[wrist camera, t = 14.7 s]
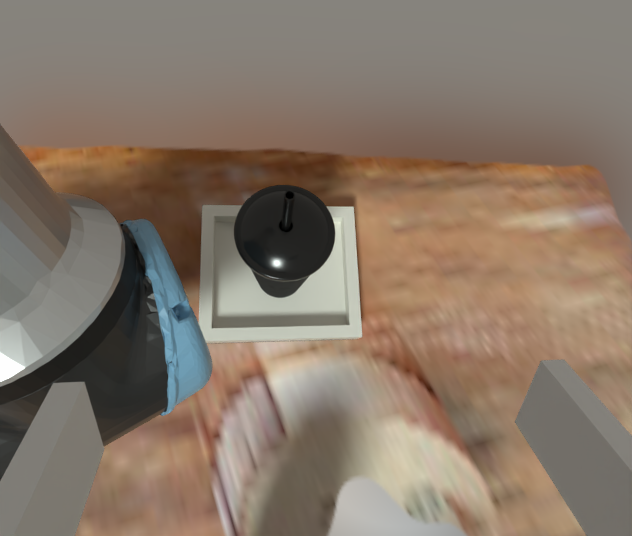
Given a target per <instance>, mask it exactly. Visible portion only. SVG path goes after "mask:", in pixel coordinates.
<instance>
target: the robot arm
mask: <svg viewBox="0 0 632 536" xmlns="http://www.w3.org/2000/svg"><path fill="white" fill-rule="evenodd" d="M211 373H212V359H211V356H210V352H209V349H208V347H207V344H206V341H205V339H204V336H203V333H202V331H201V328H200V326H199V324H198V321H197V319H196V317H195V314H194V312H193V310H192V308H191V307H190V305H189V301H188V298H187V296H186V294H185V292H184V289H183V286H182V283H181V281H180V279H179V276H178V274H177V272H176V270H175V267H174V265H173V263H172V261H171V259H170V257H169V254H168V252H167V250H166V248H165V246H164V244H163V242H162V240H161V238H160V236H159V234H158V232H157V230H156V229H155V227H154V225H153V224H152V223H151V222H150V221H148V220H146V219H137V220H134V221H131V220H126V221H124V222H123V223H120V224H119V223H118V222H117V220H116V219H115V218H114V216H113V215H112V214H111V213H110V212H109V211H108V210H107V209H106V208H105V207H104V206H103V205H101V204H100V203H98V202H96V201H94V200H93V199H90V198H87V197H84V196H80V195H76V194H70V193H56V192H54V191H53V189H52V188H51V187H50V186H49V184H48V183H47V182H46V181H45V179H44V178H43V177H42V176H41V174H40V173H39V172H38V171H37V169H36V168H35V167H34V166H33V164H32V163H31V162H30V161H29V159H28V158H27V157H26V156H25V154H24V153H23V152H22V151H21V149H20V148H19V147H18V146H17V144H16V143H15V142H14V141H13V139H12V138H11V137H10V136H9V134H8V133H7V132H6V131H5V129H4V128H3V127H2V126H1V124H0V536H75V533H76V530H77V527H78V524H79V522H80V519H81V516H82V513H83V510H84V507H85V504H86V501H87V498H88V495H89V492H90V489H91V487H92V484H93V481H94V478H95V475H96V472H97V469H98V466H99V463H100V460H101V457H102V454H103V452H104V446H106V445H108V444H109V443H111V442H113V441H115V440H116V439H118V438H120V437H121V436H123V435H125V434H127V433H128V432H130V431H132V430H134V429H135V428H137V427H139V426H141V425H142V424H144V423H146V422H148V421H149V420H151V419H153V418H155V417H156V416H158V415H162V416H163V415H166V414H168V413H170V412H171V411H172V410H173V409H174V407H175V406H176V405H177V404H179V403H180V402H182V401H183V400H185V399H186V398H188V397H190V396H191V395H193V394H194V393H196V392H197V391H199V390H200V389H202V388H203V387H204V386H205V385H206V383H207V382H208V381H209V379H210V376H211ZM515 423H516V425H517V426H518V428H519V429H520V431H521V432H522V434H523V436H524V437H525V439H526V440H527V442H528V444H529V445H530V447H531V448H532V450H533V451H534V453H535V455H536V456H537V458H538V459H539V461H540V462H541V464H542V466H543V467H544V469H545V470H546V472H547V474H548V475H549V477H550V478H551V480H552V481H553V483H554V485H555V486H556V488H557V489H558V491H559V492H560V494H561V496H562V497H563V499H564V500H565V502H566V504H567V505H568V507H569V508H570V510H571V511H572V513H573V515H574V516H575V518H576V519H577V521H578V522H579V524H580V526H581V527H582V529H583V530H584V532H585V534H586V535H587V536H632V436H631V435H630V433H629V432H628V431H627V430H626V429H625V428H624V427H623V426H622V424H621V423H620V422H619V421H618V420H617V419H616V418H615V417H614V415H613V414H612V413H611V412H610V411H609V410H608V409H607V408H606V406H605V405H604V404H603V403H602V402H601V401H600V400H599V399H598V397H597V396H596V395H595V394H594V393H593V392H592V391H591V389H590V388H589V387H588V386H587V385H586V384H585V383H584V382H583V380H582V379H581V378H580V377H579V376H578V375H577V374H576V373H575V371H574V370H573V369H572V368H571V367H570V366H569V365H568V364H567V362H566V361H565V360H544V361H541V362H540V364H539V366H538V369H537V371H536V374H535V376H534V378H533V381H532V383H531V385H530V388H529V390H528V392H527V395H526V397H525V399H524V402H523V404H522V406H521V409H520V411H519V413H518V416H517V418H516V420H515Z"/></svg>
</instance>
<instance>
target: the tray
mask: <svg viewBox="0 0 632 536" xmlns="http://www.w3.org/2000/svg"><path fill="white" fill-rule="evenodd" d="M241 207H242V205H202V233H201V267H200V301H199V326H200V328H201V331H202V333H203V336H204V339H205V341H206V343H240V342H275V341H311V340H346V339H358V338H361V337H362V326H361V311H360V296H359V280H358V265H357V250H356V234H355V219H354V207H334V206H326V207H327V208H328V210H329V212H330V214H331V216H332V218H333V221H334V225H335V242H334V246H333V250H332V252H331V254H330V256H329V258H328V259H327V261H326V262H325V264H324V265H323V266H322V267H321V268H320V269H319V270H318V271H316V272H315V273H313V274H312V275H310V276H309V277H308V278H307V280H306V281H305V282H304V283H303V284H302V285H301V287H300V288H299V289H298V290H297V291H296V292H295V293H294V294H292V295H290V296H288V297H284V298H276V297H272V296H270V295H268V294H267V293H265V292H264V291H263V290H262V289H261V287H260V285H259V284H258V282H257V280H256V278H255V276H254V274H253V272H252V270H251V269H250V268H249V267H248V266H247V265H246V263H245V262H244V261H243V260H242V258H241V257H240V255H239V253H238V250H237V248H236V244H235V240H234V224H235V220H236V217H237V214H238V212H239V210H240V208H241Z"/></svg>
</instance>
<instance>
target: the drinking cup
mask: <svg viewBox="0 0 632 536" xmlns="http://www.w3.org/2000/svg"><path fill="white" fill-rule="evenodd" d="M234 240H235V244H236V248H237V250H238V253H239V255H240V257H241V258H242V260H243V261H244V262H245V263H246V265H247V266H248V267H249V268H250V269H251V270H252V272H253V274H254V276H255V278H256V280H257V282H258V284H259V285H260V287H261V289H262V290H263V291H264V292H265V293H267V294H268V295H270V296H272V297H276V298H284V297H288V296H290V295H292V294H294V293H295V292H296V291H297V290H298V289H299V288H300V287H301V285H302V284H303V283H304V282H305V281H306V280H307V278H308V277H309V276H310V275H312V274H313V273H315V272H316V271H318V270H319V269H320V268H321V267H322V266H323V265H324V264H325V262H326V261H327V259H328V258H329V256H330V254H331V252H332V250H333V246H334V242H335V225H334V221H333V218H332V216H331V214H330V212H329V210H328V208H327V207H326V205H325V204H324V203H323V202H322V201H321V200H320V199H319V198H318V197H317V196H315V195H314V194H312V193H311V192H309V191H307V190H305V189H302V188H299V187H296V186H290V185H277V186H271V187H268V188H265V189H262V190H260V191H258V192H257V193H255V194H254V195H252V196H251V197H250V198H249V199H247V201H246V202H245V203H244V204H243V205H242V207H241V208H240V210H239V212H238V214H237V217H236V220H235V224H234Z"/></svg>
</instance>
